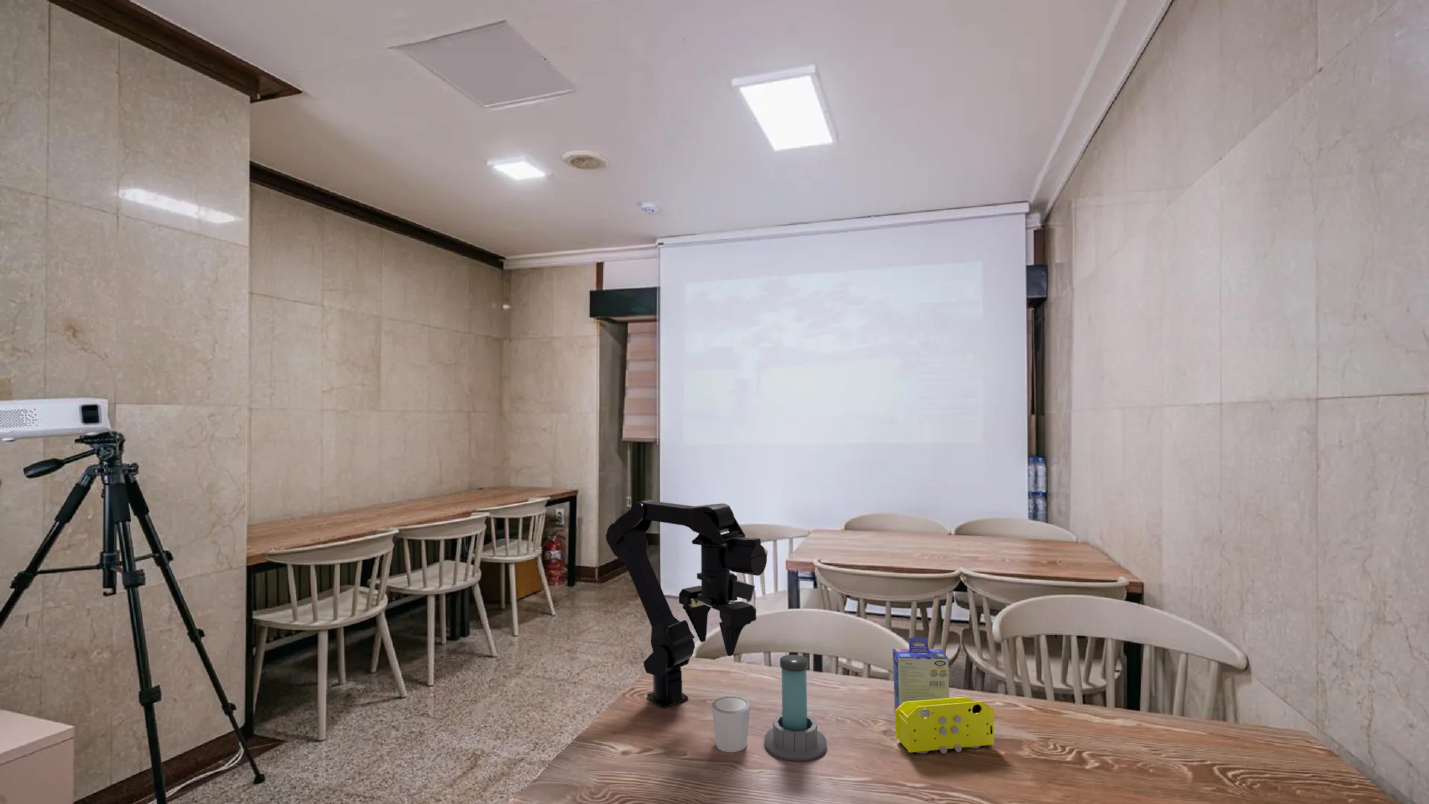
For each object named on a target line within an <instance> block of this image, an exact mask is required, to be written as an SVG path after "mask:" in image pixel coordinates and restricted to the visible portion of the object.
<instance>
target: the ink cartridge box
mask: <svg viewBox="0 0 1429 804" xmlns="http://www.w3.org/2000/svg"><path fill="white" fill-rule="evenodd" d="M918 642H919V643H923V644H924V645H922V646H921V645H913V643H918ZM908 647H909V648H892V660H893V661H892V663H893V664H892V665H893V690H894V691H893V693H894V694H893V695H894V699H893V700H894V709H893V710H894V711H895V710H896V709H897V708H898V707H899V706H901V705H902V704H903V703H904V702H908V701H920V700H932V699H945V698H950V680H949V677H950V675H949V674H950V672H949V671H950V670H949V669H950V668H949V665H950V664H949V657H948V656H947V655H946V654H945V652H944V651H943V650H942V649H941V648H929V643H928V638H926V637H924V638H923V637H908Z"/></svg>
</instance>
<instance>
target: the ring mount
mask: <svg viewBox="0 0 1429 804" xmlns="http://www.w3.org/2000/svg"><path fill="white" fill-rule="evenodd" d="M763 740H764V747H765V749H766V750H767V752H769V754H771V755H772V756H774V757H776V758H778V759H781V760H784V761H789V762H795V763H796V762H798V763H799V762H801V763H802V762H809V761H813V760H816V759H819V758H820V757H822V756H823V755H824V754H825V753H826V751H827V748H828V746H827V745H828V744H827V739H826V736H825V735H824V734H823V733H822V732H821V731H819V730H818V723H817V721H816V718H814V717H812V716H811V715H808V714H807V730H805V731H790V730H786V729H784V728H782V713H781V714H777V715H776V716H775V718H774V719H773V721H772V728H771V729H769V730H768V731H767V732H766V733H765V734H764V739H763Z"/></svg>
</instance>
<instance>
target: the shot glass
mask: <svg viewBox="0 0 1429 804" xmlns="http://www.w3.org/2000/svg"><path fill="white" fill-rule="evenodd" d="M750 708H751V704H750V702H749V701H748V700H747V699H745V698H743V697H741V696H735V695H734V696H733V695H732V696H731V695H730V696H729V695H726V696H721V697H718V698H716V699H714V701H712V703H711V710H712V719H713V728H714V729H713V730H714V739H715V740H714V741H715V746H716V747H717V749H718V750H720V751H723V752H727V753H736V752H741V751H742V750H744V749H745V748H746V747H747V746H748V733H749V723H750V722H749V720H750Z"/></svg>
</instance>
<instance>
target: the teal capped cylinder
mask: <svg viewBox="0 0 1429 804" xmlns="http://www.w3.org/2000/svg"><path fill="white" fill-rule="evenodd" d="M779 666H780V668H781V710H782V711H781V714H782V728H784V729H786V730H790V731H805V730H807V715H808V696H807V695H808V688H807V686H808V684H807V682H808V681H807V680H808V679H807V675H808V674H807V669H808V668H809V659H808V658H807V657H806V656H803V655H798V654H787V655H786V654H785V655H782V656H781V657H780V659H779Z"/></svg>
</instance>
